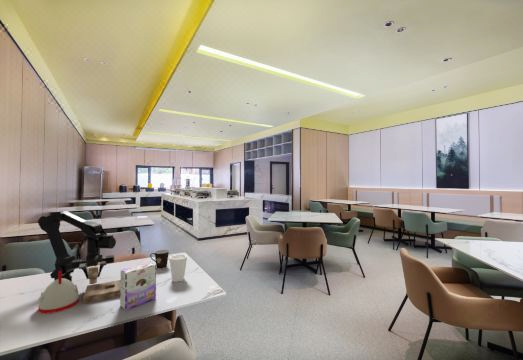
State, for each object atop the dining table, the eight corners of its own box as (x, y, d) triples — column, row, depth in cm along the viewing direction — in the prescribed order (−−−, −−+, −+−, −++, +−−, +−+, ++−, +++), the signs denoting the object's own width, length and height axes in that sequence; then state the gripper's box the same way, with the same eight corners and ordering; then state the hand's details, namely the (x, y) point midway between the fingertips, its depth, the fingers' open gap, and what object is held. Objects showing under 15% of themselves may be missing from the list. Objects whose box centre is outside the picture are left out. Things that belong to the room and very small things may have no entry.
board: (83, 303, 108) (83, 297, 109) (87, 291, 121) (87, 285, 121) (123, 295, 117) (123, 289, 117) (123, 284, 129) (123, 279, 129)
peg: (87, 285, 122) (87, 269, 122) (88, 282, 126) (88, 266, 126) (97, 283, 124) (98, 268, 124) (98, 280, 128) (98, 265, 128)
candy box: (150, 295, 117) (150, 261, 117) (156, 298, 113) (156, 264, 114) (119, 306, 107) (120, 269, 107) (125, 310, 103) (125, 272, 103)
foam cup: (165, 282, 133) (165, 258, 133) (175, 275, 142) (175, 253, 142) (180, 283, 130) (181, 260, 131) (189, 277, 139) (189, 255, 140)
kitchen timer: (77, 295, 117) (78, 264, 117) (80, 306, 107) (80, 272, 107) (39, 304, 108) (39, 271, 108) (37, 317, 98) (38, 280, 98)
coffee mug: (171, 266, 158) (171, 251, 158) (159, 270, 151) (160, 254, 151) (160, 262, 164) (160, 248, 164) (148, 266, 157) (149, 251, 157)
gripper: (68, 254, 114) (67, 287, 113) (113, 249, 123) (113, 279, 123) (72, 249, 123) (71, 279, 123) (114, 244, 133) (114, 272, 132)
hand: (93, 277), depth 125 cm, fingers closed on peg, 4 cm apart
